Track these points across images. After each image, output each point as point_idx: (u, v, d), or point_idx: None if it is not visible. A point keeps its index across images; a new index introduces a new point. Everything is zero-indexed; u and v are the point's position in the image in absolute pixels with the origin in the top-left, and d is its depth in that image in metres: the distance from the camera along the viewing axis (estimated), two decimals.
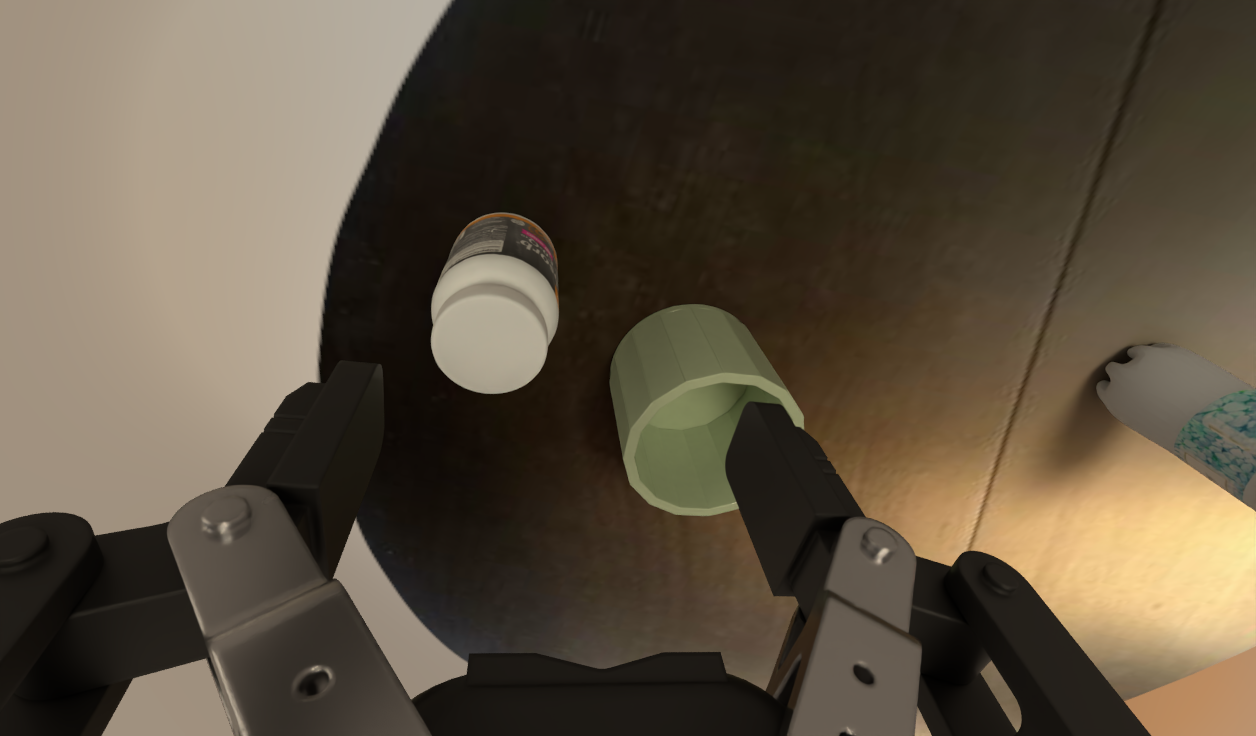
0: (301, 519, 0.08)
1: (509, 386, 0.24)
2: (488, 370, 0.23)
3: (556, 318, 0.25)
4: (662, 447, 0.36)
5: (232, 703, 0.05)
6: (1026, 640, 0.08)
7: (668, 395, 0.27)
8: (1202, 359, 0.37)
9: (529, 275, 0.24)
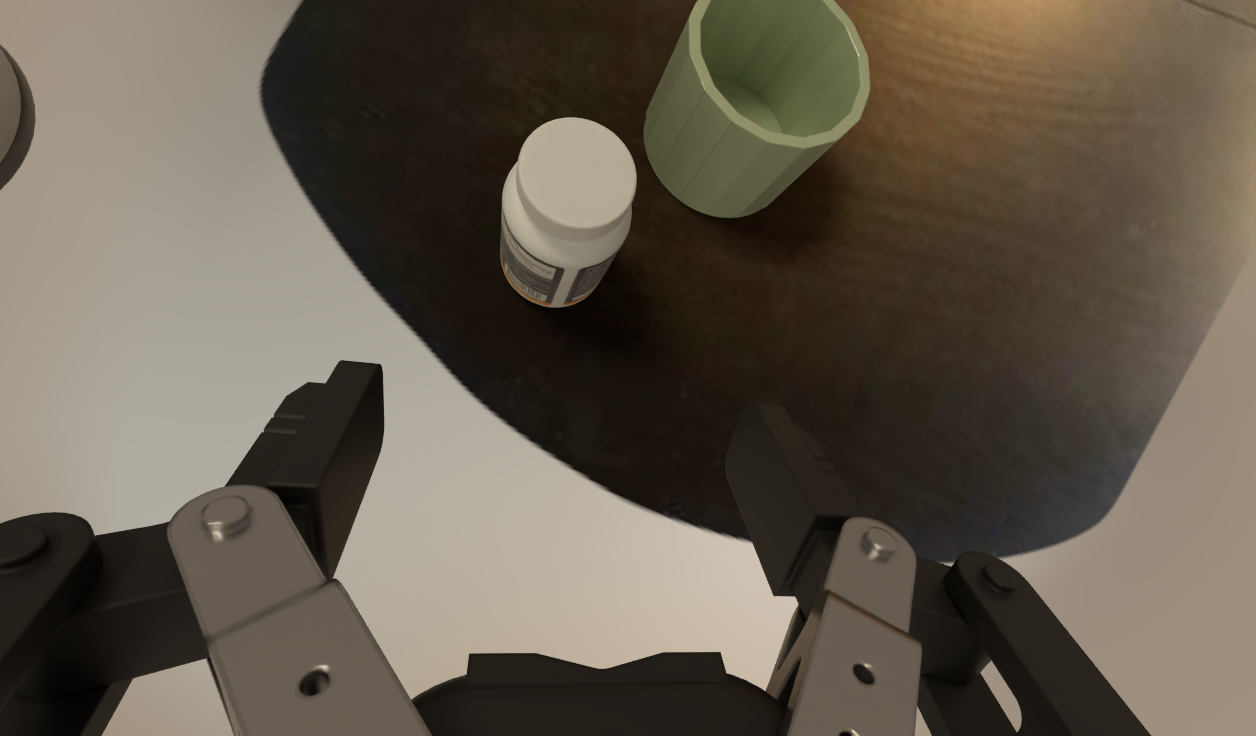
0: (301, 519, 0.08)
1: (629, 174, 0.22)
2: (604, 184, 0.22)
3: None
4: None
5: (232, 703, 0.05)
6: (1026, 640, 0.08)
7: (701, 73, 0.26)
8: None
9: None
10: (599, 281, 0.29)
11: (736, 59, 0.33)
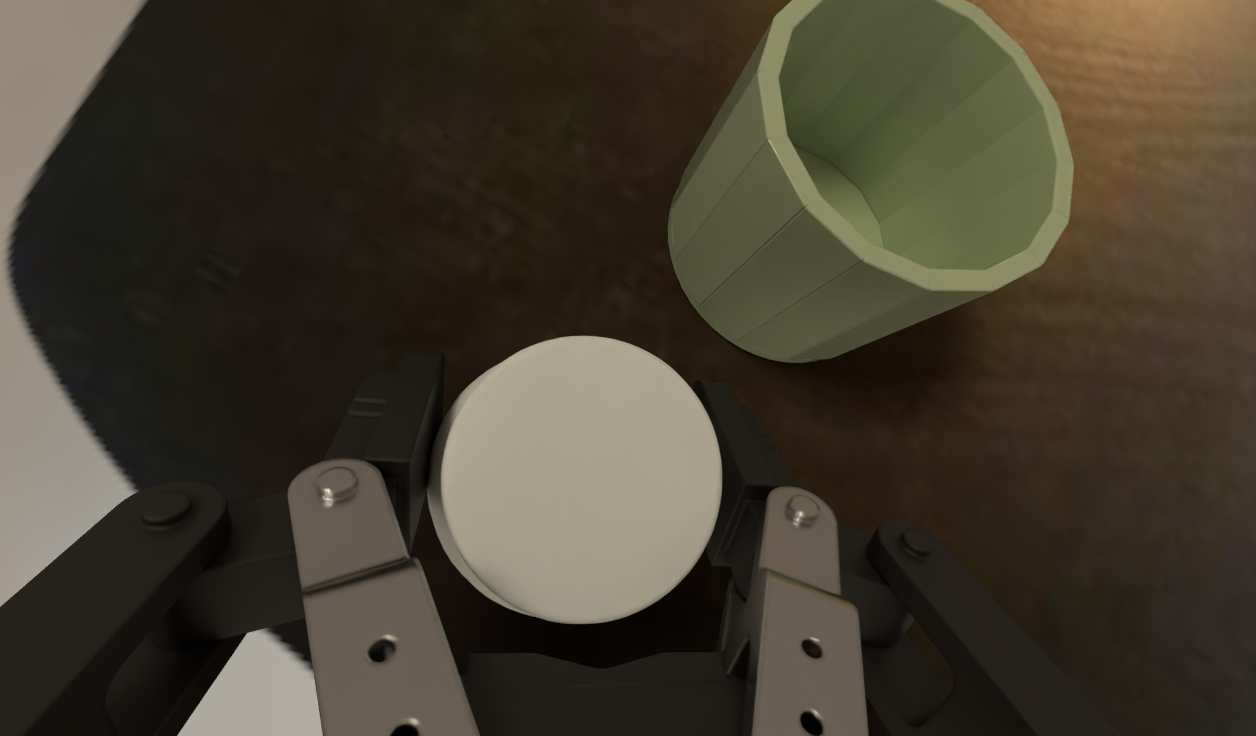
0: (394, 491, 0.09)
1: (705, 453, 0.09)
2: (653, 492, 0.09)
3: None
4: None
5: (312, 654, 0.05)
6: (949, 602, 0.08)
7: (793, 174, 0.14)
8: None
9: None
10: None
11: (803, 117, 0.21)
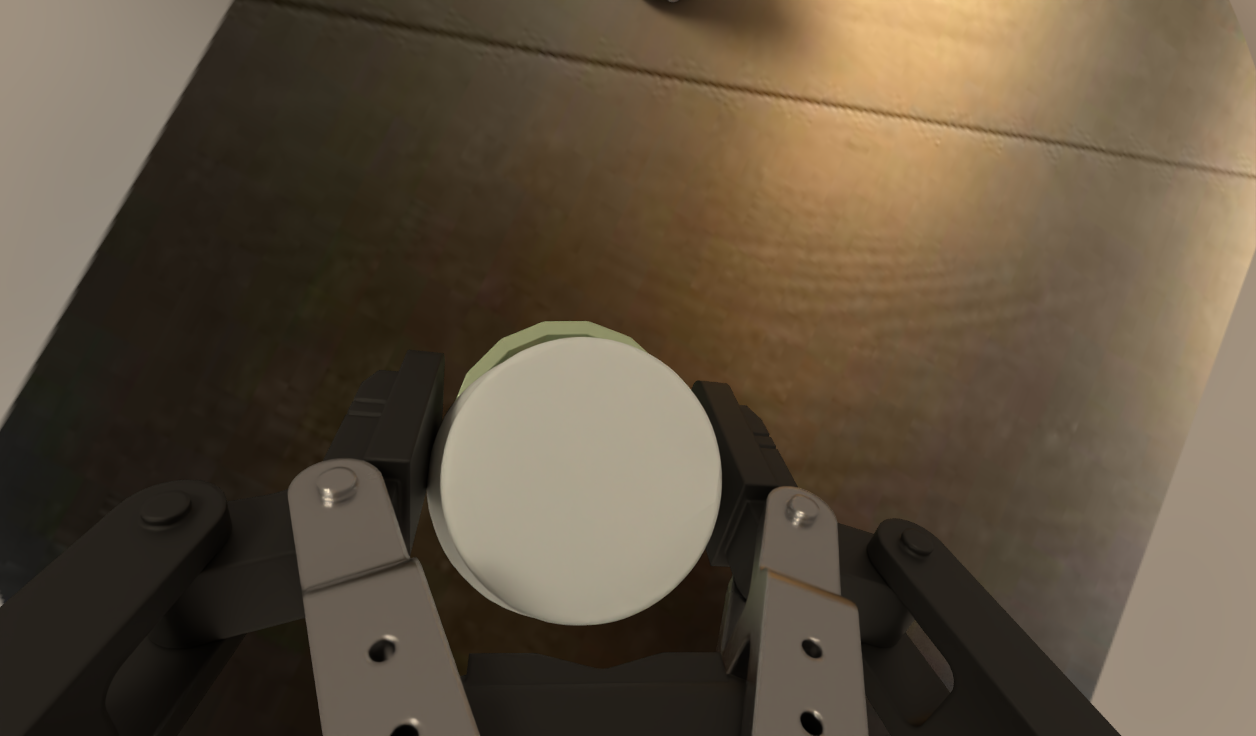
0: (394, 491, 0.09)
1: (705, 454, 0.09)
2: (652, 493, 0.09)
3: None
4: None
5: (312, 653, 0.05)
6: (949, 602, 0.08)
7: None
8: None
9: None
10: None
11: None
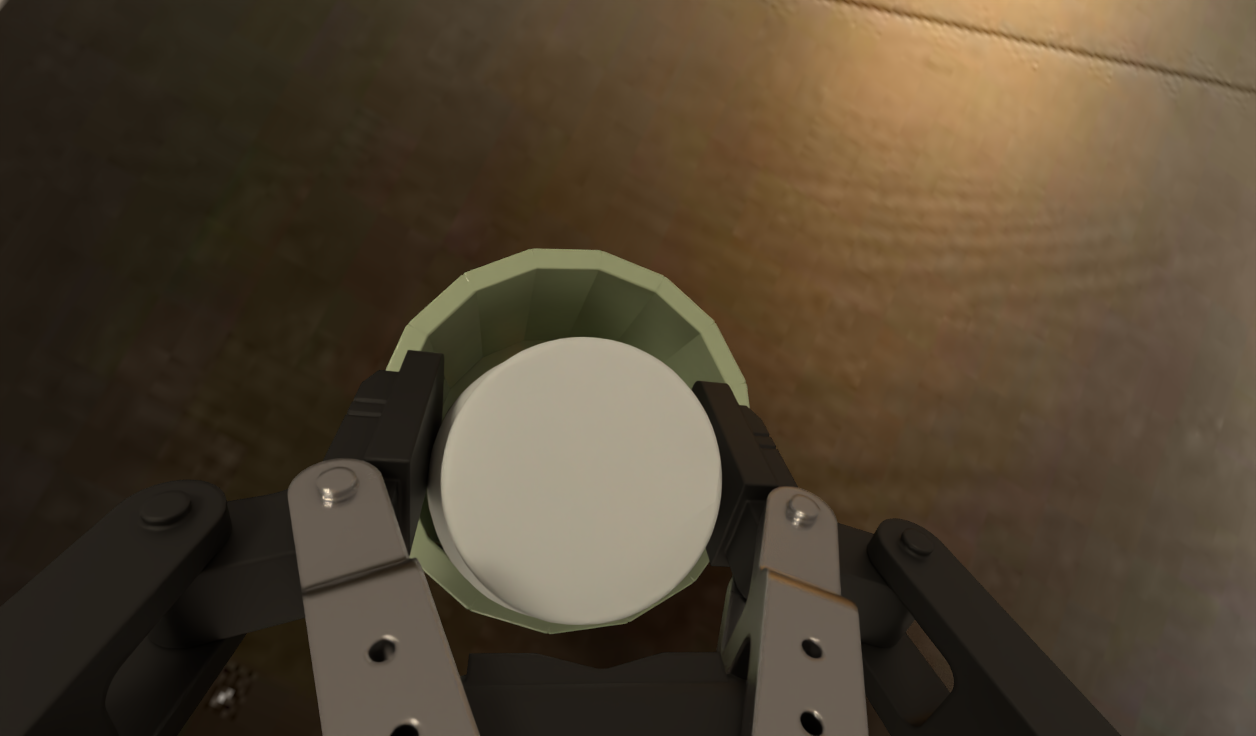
0: (394, 491, 0.09)
1: (705, 454, 0.10)
2: (653, 493, 0.09)
3: None
4: None
5: (311, 653, 0.05)
6: (949, 602, 0.08)
7: None
8: None
9: None
10: None
11: (556, 328, 0.21)
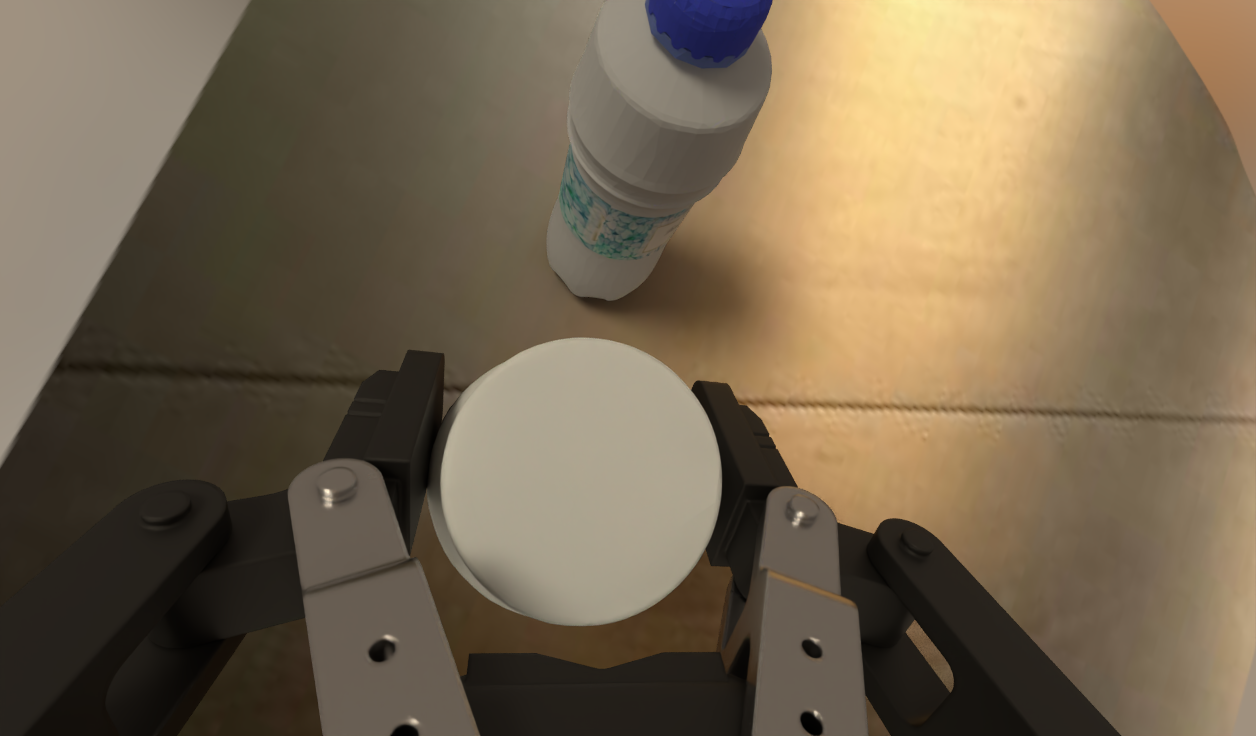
0: (394, 491, 0.09)
1: (705, 455, 0.09)
2: (652, 494, 0.09)
3: None
4: None
5: (312, 653, 0.05)
6: (949, 602, 0.08)
7: None
8: None
9: None
10: None
11: None
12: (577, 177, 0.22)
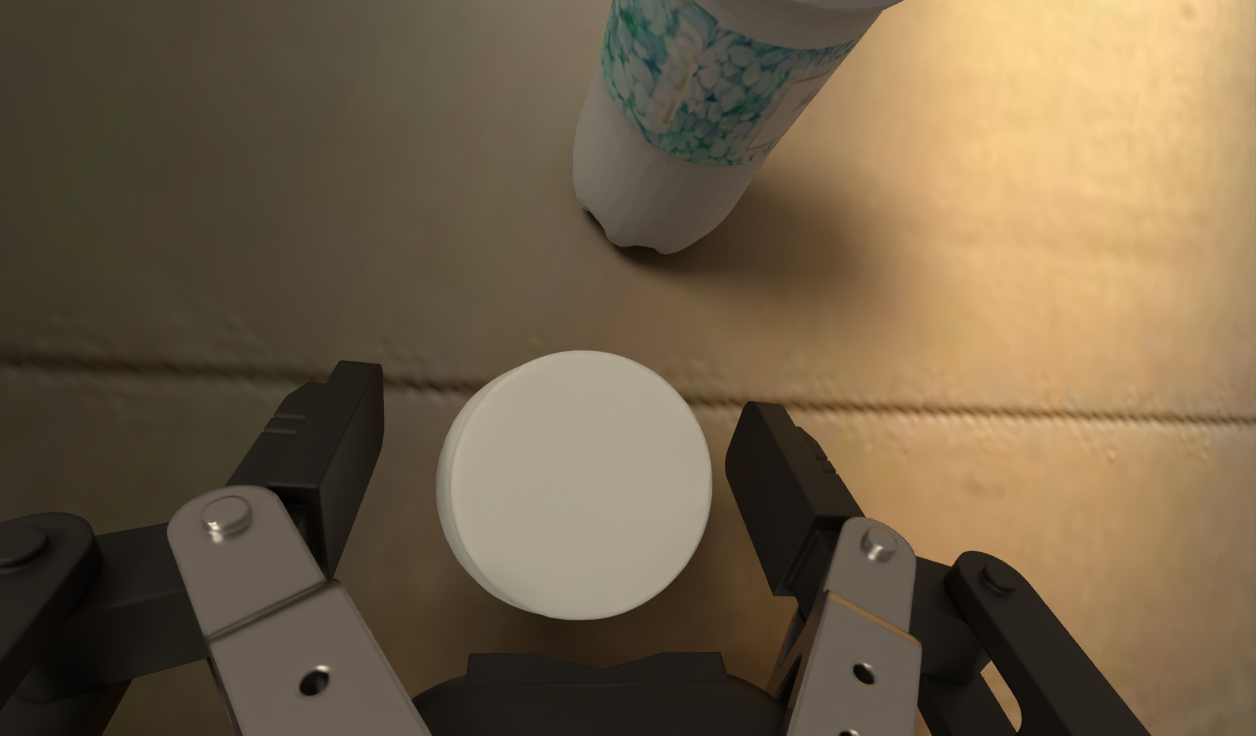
0: (301, 519, 0.08)
1: (696, 460, 0.10)
2: (647, 497, 0.10)
3: None
4: None
5: (232, 703, 0.05)
6: (1026, 640, 0.08)
7: None
8: None
9: (489, 389, 0.12)
10: None
11: None
12: None
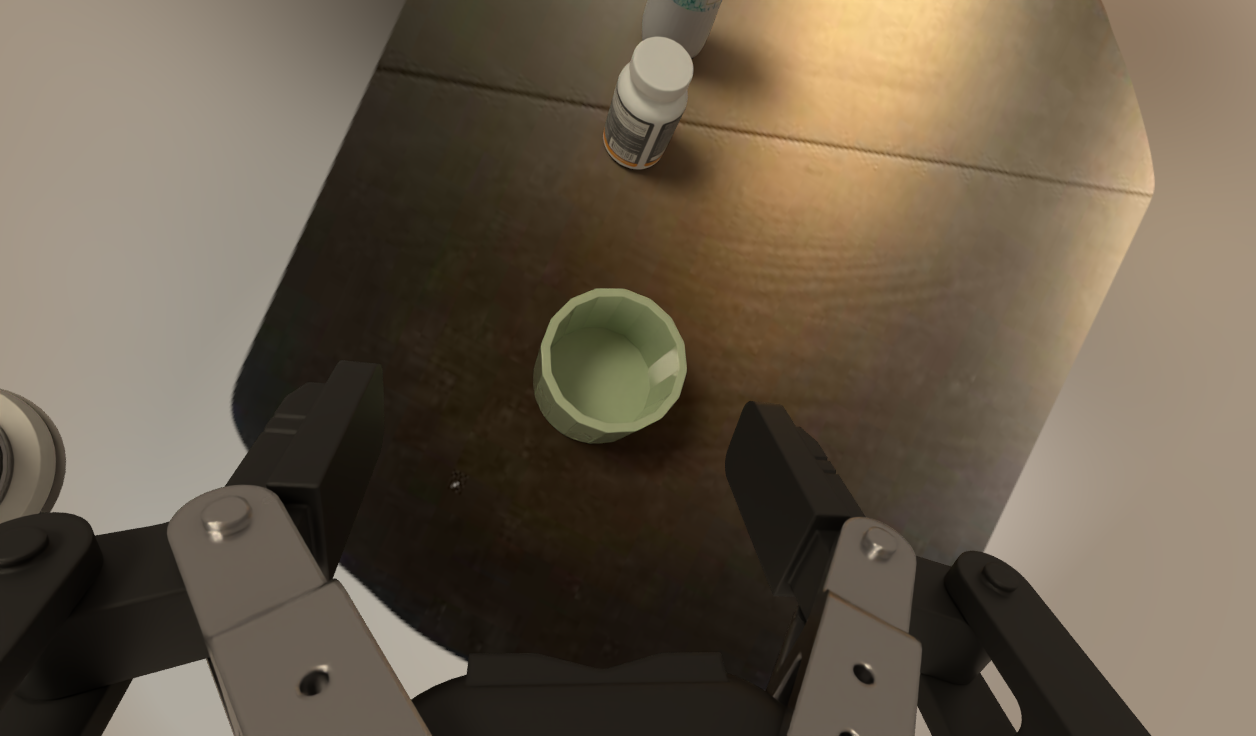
0: (301, 519, 0.08)
1: (689, 63, 0.41)
2: (677, 69, 0.41)
3: None
4: (649, 406, 0.42)
5: (233, 703, 0.05)
6: (1026, 640, 0.08)
7: (552, 388, 0.35)
8: None
9: None
10: (665, 148, 0.48)
11: (600, 321, 0.43)
12: None
